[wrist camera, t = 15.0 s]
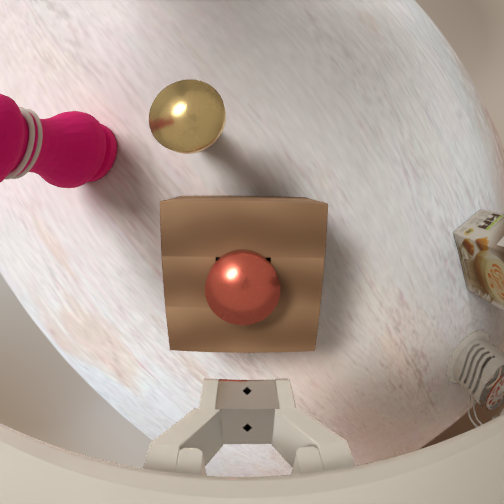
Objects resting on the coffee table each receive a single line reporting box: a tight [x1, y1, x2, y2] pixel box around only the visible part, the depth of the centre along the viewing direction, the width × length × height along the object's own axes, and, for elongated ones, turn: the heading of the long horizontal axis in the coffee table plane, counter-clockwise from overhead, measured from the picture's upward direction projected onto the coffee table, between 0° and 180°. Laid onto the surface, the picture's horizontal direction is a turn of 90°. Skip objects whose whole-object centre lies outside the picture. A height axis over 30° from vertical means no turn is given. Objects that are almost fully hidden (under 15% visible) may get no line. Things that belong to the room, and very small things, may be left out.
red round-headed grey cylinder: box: [205, 249, 280, 325], centre depth 25 cm, size 5×5×9 cm
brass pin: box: [149, 80, 226, 154], centre depth 23 cm, size 5×5×9 cm
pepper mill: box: [0, 94, 117, 188], centre depth 17 cm, size 7×7×20 cm
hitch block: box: [160, 196, 328, 353], centre depth 26 cm, size 12×12×8 cm
